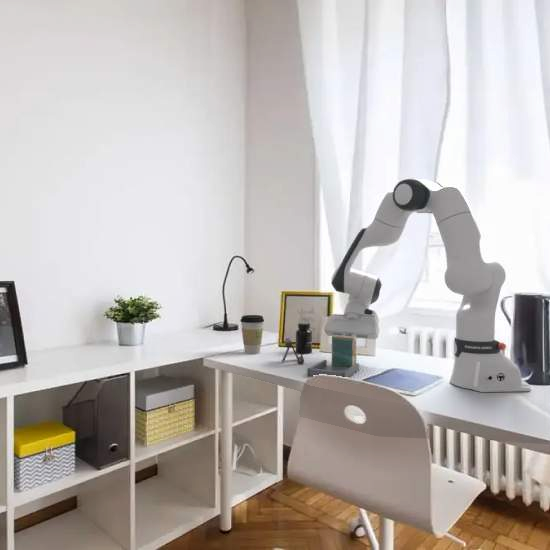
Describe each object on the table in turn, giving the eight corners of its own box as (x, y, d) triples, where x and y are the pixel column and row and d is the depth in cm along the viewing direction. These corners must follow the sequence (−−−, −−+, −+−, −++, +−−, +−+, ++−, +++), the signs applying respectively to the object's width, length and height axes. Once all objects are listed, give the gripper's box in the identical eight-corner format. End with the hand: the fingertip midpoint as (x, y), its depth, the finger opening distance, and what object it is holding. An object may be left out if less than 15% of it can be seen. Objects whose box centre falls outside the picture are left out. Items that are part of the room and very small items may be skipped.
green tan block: (335, 364, 178) (335, 335, 178) (356, 367, 174) (356, 336, 174) (331, 367, 175) (331, 336, 174) (352, 369, 171) (353, 338, 171)
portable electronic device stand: (303, 364, 179) (303, 342, 178) (282, 364, 179) (282, 342, 178) (302, 359, 187) (302, 338, 187) (281, 359, 187) (281, 338, 187)
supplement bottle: (311, 354, 196) (311, 324, 196) (294, 353, 198) (294, 324, 197) (313, 351, 203) (313, 322, 203) (297, 350, 205) (296, 322, 204)
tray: (359, 370, 169) (359, 363, 169) (344, 380, 156) (344, 373, 156) (324, 366, 175) (324, 359, 175) (307, 376, 162) (307, 368, 162)
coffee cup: (268, 353, 198) (268, 316, 198) (247, 356, 193) (246, 318, 193) (257, 349, 207) (257, 314, 206) (236, 351, 202) (236, 315, 201)
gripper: (327, 308, 188) (317, 338, 180) (379, 311, 179) (372, 342, 170) (331, 319, 192) (322, 347, 184) (383, 322, 183) (375, 352, 174)
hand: (346, 345), depth 177 cm, fingers closed
